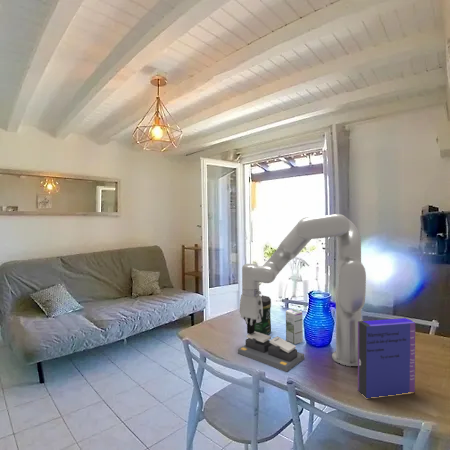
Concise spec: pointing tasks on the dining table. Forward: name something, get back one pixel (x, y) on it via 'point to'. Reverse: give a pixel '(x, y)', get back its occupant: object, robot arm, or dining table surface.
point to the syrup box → (294, 326)
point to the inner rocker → (282, 344)
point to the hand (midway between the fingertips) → (250, 332)
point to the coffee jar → (265, 317)
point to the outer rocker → (259, 337)
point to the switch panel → (270, 359)
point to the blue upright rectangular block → (386, 357)
